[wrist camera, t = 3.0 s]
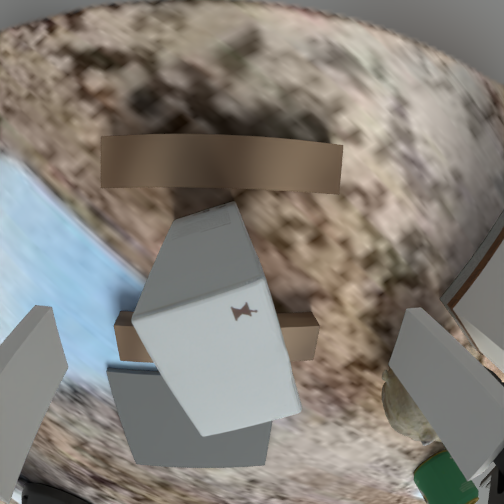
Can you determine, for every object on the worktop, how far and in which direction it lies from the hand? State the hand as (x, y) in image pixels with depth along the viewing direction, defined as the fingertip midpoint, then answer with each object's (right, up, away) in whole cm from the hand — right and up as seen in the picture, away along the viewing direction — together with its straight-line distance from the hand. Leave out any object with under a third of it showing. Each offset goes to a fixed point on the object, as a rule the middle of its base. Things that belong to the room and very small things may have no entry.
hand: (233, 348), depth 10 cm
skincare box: (-2, +3, +10) cm, 11 cm away
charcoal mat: (-5, -13, +15) cm, 21 cm away
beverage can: (+31, -32, +27) cm, 52 cm away
